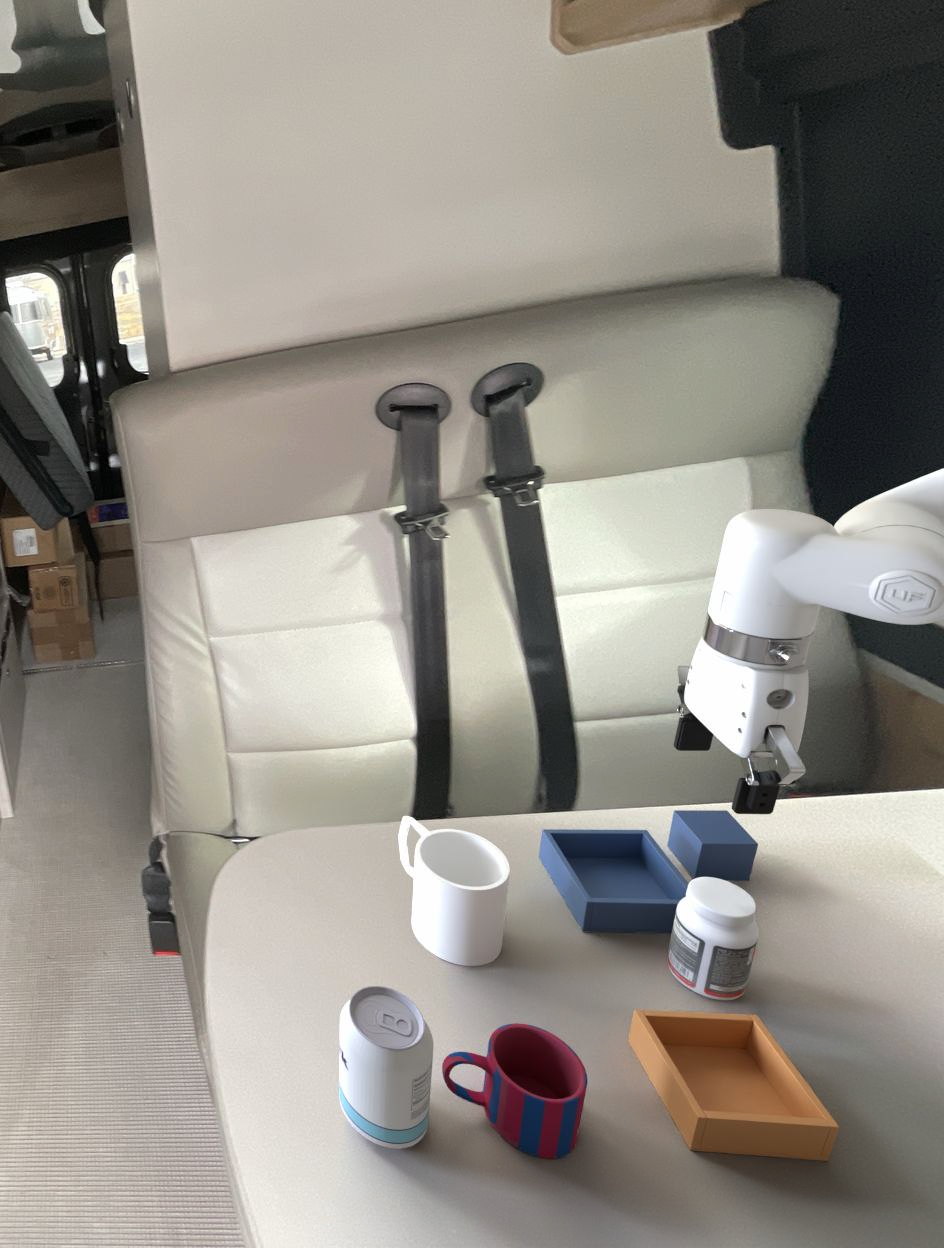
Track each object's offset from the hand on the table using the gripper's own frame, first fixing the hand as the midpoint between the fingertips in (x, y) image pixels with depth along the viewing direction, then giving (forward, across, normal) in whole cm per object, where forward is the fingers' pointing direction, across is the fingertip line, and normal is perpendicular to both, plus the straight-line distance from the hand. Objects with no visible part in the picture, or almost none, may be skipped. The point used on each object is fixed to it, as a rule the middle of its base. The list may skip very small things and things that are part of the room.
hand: (719, 778), depth 85 cm
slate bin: (+11, -5, +10) cm, 16 cm away
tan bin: (+11, -26, +12) cm, 31 cm away
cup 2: (+12, -29, +29) cm, 43 cm away
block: (+11, 0, 0) cm, 11 cm away
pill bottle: (+11, -15, +7) cm, 20 cm away
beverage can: (+12, -30, +39) cm, 51 cm away
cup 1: (+12, -9, +28) cm, 32 cm away
